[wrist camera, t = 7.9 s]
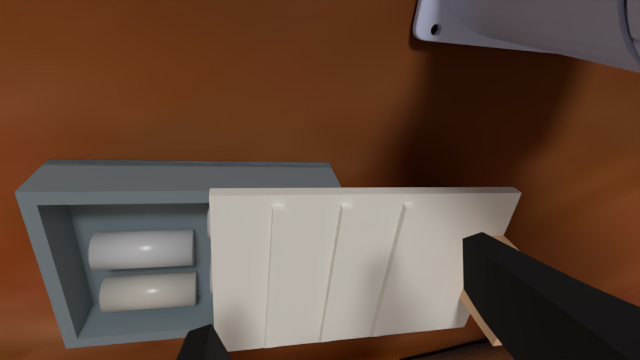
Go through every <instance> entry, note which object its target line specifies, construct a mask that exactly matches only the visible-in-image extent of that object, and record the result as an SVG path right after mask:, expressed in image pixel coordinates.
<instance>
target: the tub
mask: <svg viewBox="0 0 640 360" xmlns="http://www.w3.org/2000/svg"><path fill="white" fill-rule="evenodd" d="M210 188H341V186H340V184H339V182H338V180H337V178H336V176H335V174H334V172H333V170H332V168H331V166H330V164H329V163H312V162H231V161H149V160H67V159H48V160H47V161H46V162H45V163H44V164H43V165H42V166H41V167H40V168H39V169H38V170H37V171H36V172H35V173H34V174H33V175H32V176H31V177H30V178H29V179H27V180H26V181H25V182H24V183H23V184H22V185H21V186H20V187H19V188H18V189H17V190H16V191H15V195H16V198H17V201H18V204H19V207H20V210H21V213H22V216H23V219H24V222H25V225H26V228H27V231H28V234H29V238H30V241H31V244H32V247H33V250H34V253H35V256H36V259H37V262H38V265H39V268H40V271H41V274H42V277H43V280H44V283H45V286H46V289H47V292H48V295H49V298H50V301H51V304H52V307H53V310H54V313H55V316H56V319H57V322H58V325H59V328H60V331H61V335H62V338H63V341H64V344H65V347H66V349H67V348H77V347H88V346H99V345H109V344H120V343H131V342H141V341H152V340H163V339H173V338H184V337H186V335H187V333H188V332H189V331H191V330H194V329H197V328H199V327H202V326H205V325H208V324H212V325H213V327H214V312H213V287H212V261H211V235H210V210H209V191H210Z"/></svg>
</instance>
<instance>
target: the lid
mask: <svg viewBox="0 0 640 360" xmlns="http://www.w3.org/2000/svg"><path fill="white" fill-rule="evenodd" d="M521 194H522V193H521V192H520V191H518V190H517V189H516V188H514V187H394V188H210V191H209V210H210V235H211V261H212V287H213V312H214V329H215V331H216V332H217V334H218V336H219V338H220V339H221V341H222V343H223V344H224V346H225V348H226V350H227V351H228V352H229V351H238V350H248V349H257V348H272V347H277V346H286V345H296V344H305V343H315V342H329V341H334V340H343V339H353V338H363V337H372V336H373V337H376V336H382V335H391V334H401V333H410V332H420V331H429V330H439V329H448V328H458V327H464V326H465V324H466V322H467V319H468V317H469V315H470V314H471V315H472V317H473V318H474V320H475V321H476V322H477V324H478V325H479V327H480V328H481V330H482V331H483V332H484V334H485V335H486V337H487V338H488V340H489V341H490V342H491V344H492V345H493V346H498V345H502V344H501V342H500V341H499V340H498V339H497V337H496V336H495V335H494V333H493V332H492V331H491V330H490V328H489V327H488V326H487V325H486V323H485V322H484V321H483V319H482V318H481V316H480V314H479V313H478V311H477V310H476V308H475V307H474V305H473V304H472V302H471V300H470V299H469V297H468V295H467V294H466V292H465V290H464V288H463V242H462V238H465V237H468V236H471V235H474V234H477V233H480V232H484V233H486V234H488V235H490V236H492V237H494V238H496V239H497V240H499V241H501V242H503V243H505V244H507V245H509V246H511V247H513V248H515V249H517V248H516V247H515V246H514V245H513V244H512V243H511V242H510V241H509V240H508V239H507V238H506V237H505V236H504V233H505V231H506V229H507V226H508V224H509V222H510V219H511V217H512V215H513V212H514V210H515V208H516V205H517V203H518V201H519V198H520V196H521ZM517 250H518V249H517ZM518 251H519V250H518Z"/></svg>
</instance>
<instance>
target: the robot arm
mask: <svg viewBox="0 0 640 360" xmlns="http://www.w3.org/2000/svg"><path fill="white" fill-rule="evenodd" d="M435 24H436V25H437V31H436V33H435V34H434V35H432V34H431V28H432V26H433V25H435ZM413 34H414V36H415V37H416V38H417V39H420V40H423V41H432V42H442V43H452V44H463V45H473V46H483V47H493V48H503V49H513V50H524V51H534V52H544V53H554V54H561V55H565V56H570V57H574V58H578V59H582V60H587V61H591V62H595V63H600V64H604V65H608V66H612V67H617V68H621V69H625V70H630V71H634V72H638V73H640V0H418V5H417V10H416V14H415V19H414V24H413ZM462 242H463V288H464V290H465V292H466V294H467V295H468V297H469V299H470V300H471V302H472V304H473V305H474V307H475V308H476V310H477V311H478V313H479V314H480V316H481V318H482V319H483V321H484V322H485V323H486V325H487V326H488V327H489V328H490V330H491V331H492V332H493V333H494V335H495V336H496V337H497V339H498V340H499V341H500V342H501V344H502V345H503V346H504V347H505V349H506V350H507V351H508V352H509V354H510V355H511V356H512V357H513V358H514V360H640V307H638V306H636V305H633V304H631V303H628V302H626V301H624V300H621V299H619V298H617V297H614V296H612V295H610V294H608V293H605V292H603V291H601V290H599V289H596V288H594V287H592V286H589V285H587V284H585V283H583V282H581V281H579V280H577V279H574V278H572V277H570V276H568V275H566V274H564V273H562V272H560V271H558V270H556V269H554V268H552V267H550V266H548V265H546V264H544V263H542V262H540V261H538V260H536V259H534V258H532V257H530V256H528V255H526V254H524V253H522V252H520V251H518V250H517V249H515V248H513V247H511V246H509V245H507V244H505V243H503V242H501V241H499V240H497V239H496V238H494V237H492V236H490V235H488V234H486V233H484V232H480V233H477V234H474V235H471V236H468V237H465V238H462ZM176 360H232V358H231V357H230V355H229V353H228V351H227V350H226V348H225V346H224V344H223V343H222V341H221V339H220V338H219V336H218V334H217V332H216V331H215V329H214V327H213V325H212V324H208V325H205V326H202V327H199V328H197V329H194V330H191V331H189V332H188V333H187V335H186V337H185V340H184V342H183V344H182V347H181V349H180V352H179V354H178V357H177V359H176Z"/></svg>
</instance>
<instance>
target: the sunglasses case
mask: <svg viewBox="0 0 640 360" xmlns="http://www.w3.org/2000/svg"><path fill="white" fill-rule="evenodd" d="M400 360H403V359H400ZM411 360H514V358H513V357H512V356H511V355H510V354H509V352H508V351H507V350H506V349H505V347H504V346H503V345H498V346H493V345H492V344H491V342H490V341H489V342H486V343H481V344H474V345H470V346H465V347H462V348H458V349H455V350H451V351H447V352H443V353H438V354H434V355H430V356H426V357H422V358H415V359H411Z"/></svg>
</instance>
